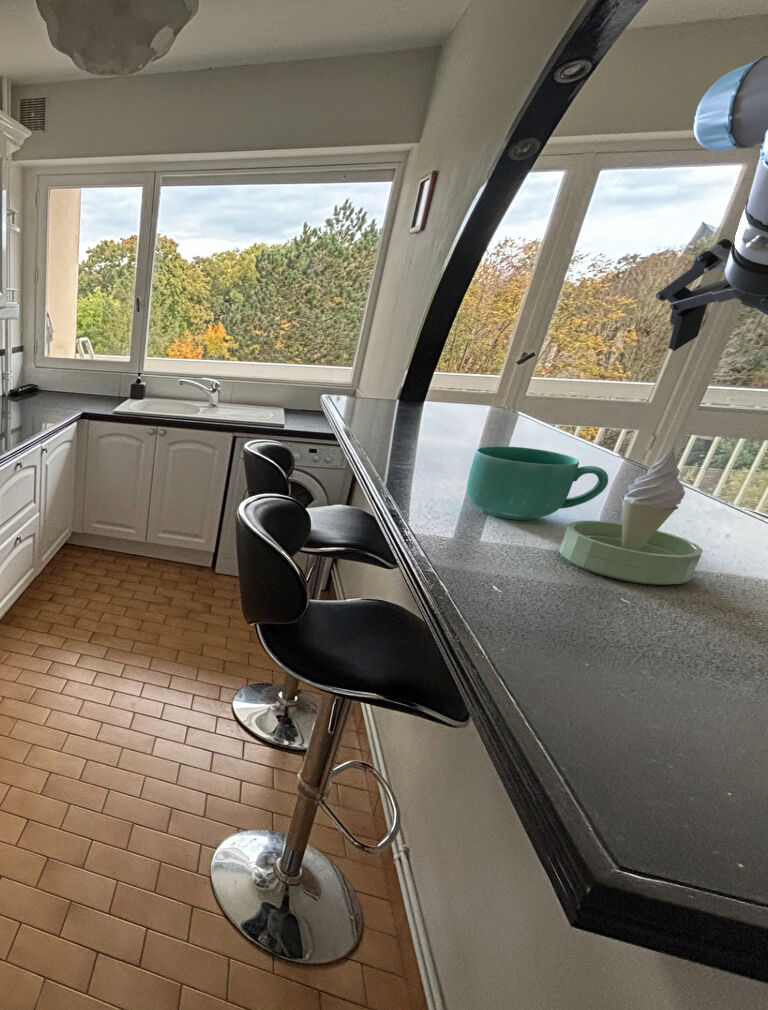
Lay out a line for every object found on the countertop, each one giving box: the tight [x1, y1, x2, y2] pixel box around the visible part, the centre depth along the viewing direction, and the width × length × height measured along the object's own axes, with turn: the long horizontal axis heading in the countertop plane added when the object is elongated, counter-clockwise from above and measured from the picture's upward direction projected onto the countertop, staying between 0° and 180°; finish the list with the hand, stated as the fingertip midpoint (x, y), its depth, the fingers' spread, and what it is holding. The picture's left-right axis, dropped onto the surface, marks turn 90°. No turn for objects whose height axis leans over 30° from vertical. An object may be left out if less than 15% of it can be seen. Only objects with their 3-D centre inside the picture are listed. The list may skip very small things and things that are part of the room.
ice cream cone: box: [621, 446, 686, 551], centre depth 71 cm, size 5×5×15 cm
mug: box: [466, 445, 609, 521], centre depth 91 cm, size 17×13×10 cm
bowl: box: [559, 520, 704, 586], centre depth 74 cm, size 12×12×4 cm
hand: (739, 371), depth 69 cm, fingers open, 13 cm apart
